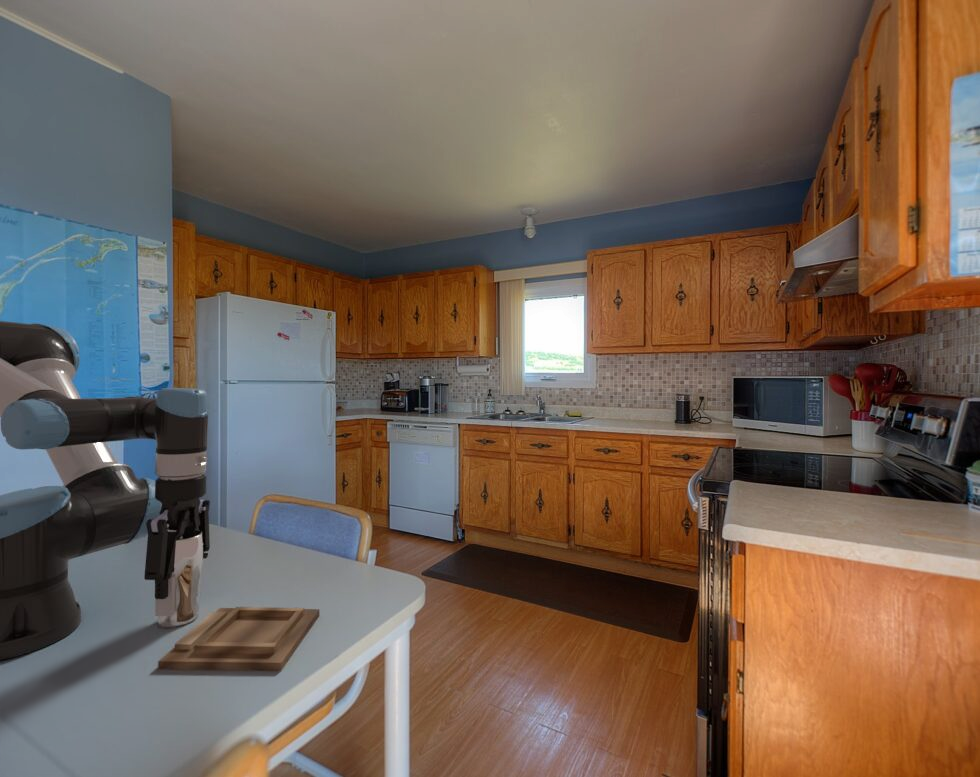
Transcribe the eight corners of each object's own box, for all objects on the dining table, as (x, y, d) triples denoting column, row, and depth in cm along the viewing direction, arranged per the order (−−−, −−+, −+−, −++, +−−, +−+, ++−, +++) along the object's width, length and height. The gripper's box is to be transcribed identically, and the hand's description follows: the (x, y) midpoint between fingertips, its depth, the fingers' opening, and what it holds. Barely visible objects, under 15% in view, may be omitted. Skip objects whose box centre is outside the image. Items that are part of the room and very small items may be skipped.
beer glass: (178, 631, 77) (179, 543, 77) (143, 625, 79) (145, 539, 78) (211, 611, 84) (212, 530, 84) (179, 606, 85) (180, 526, 85)
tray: (158, 669, 67) (158, 653, 67) (220, 614, 83) (220, 601, 83) (281, 670, 68) (281, 654, 68) (319, 615, 84) (319, 602, 84)
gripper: (165, 488, 71) (162, 635, 72) (232, 465, 91) (230, 581, 91) (116, 487, 71) (113, 634, 72) (194, 464, 91) (192, 580, 91)
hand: (178, 604), depth 81 cm, fingers closed on beer glass, 6 cm apart
